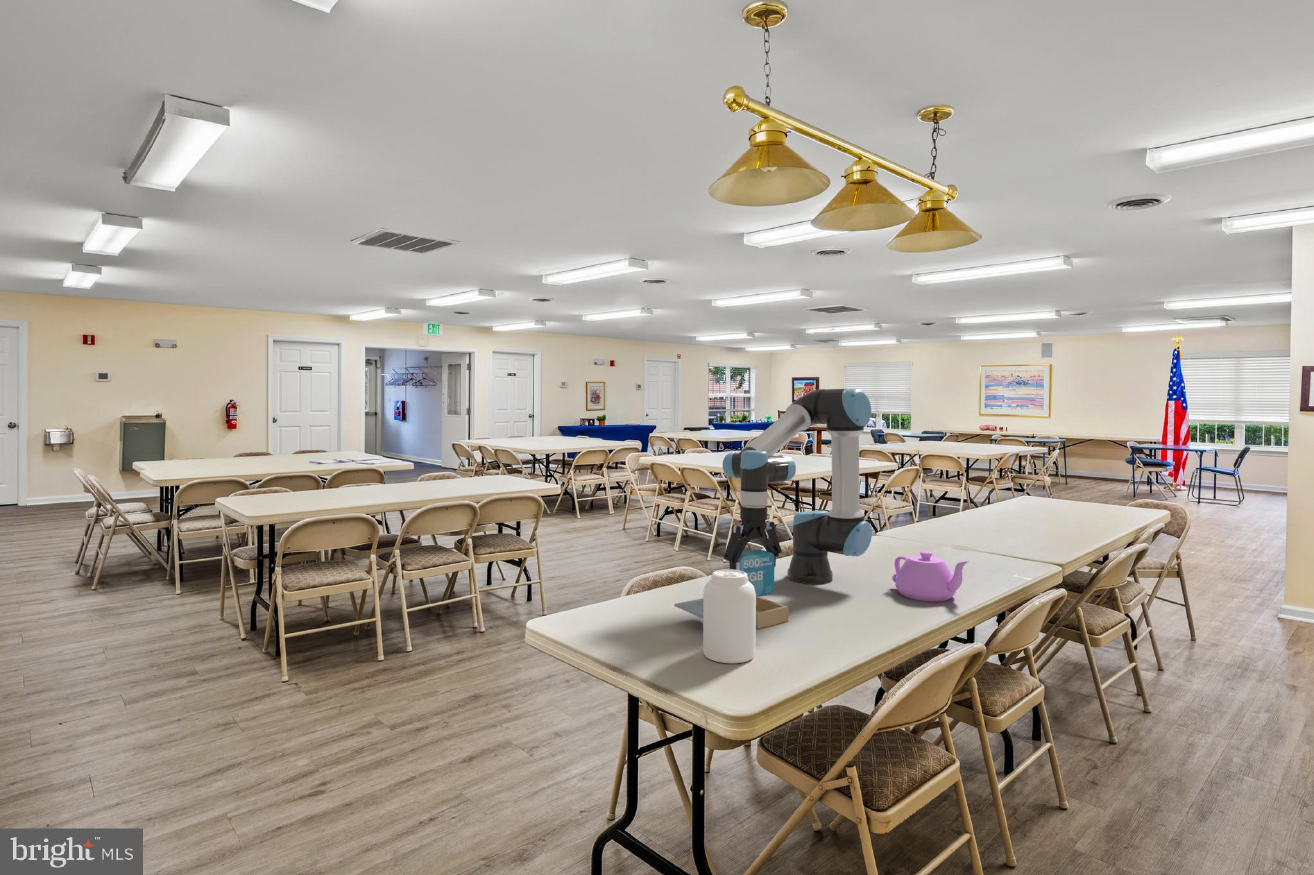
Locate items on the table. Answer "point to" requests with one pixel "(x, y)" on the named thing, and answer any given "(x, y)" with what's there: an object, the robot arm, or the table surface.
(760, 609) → the light brown shallow tray
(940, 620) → the table surface
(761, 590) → the data package
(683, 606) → the lid
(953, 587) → the teapot
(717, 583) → the white bottle
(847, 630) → the table surface
